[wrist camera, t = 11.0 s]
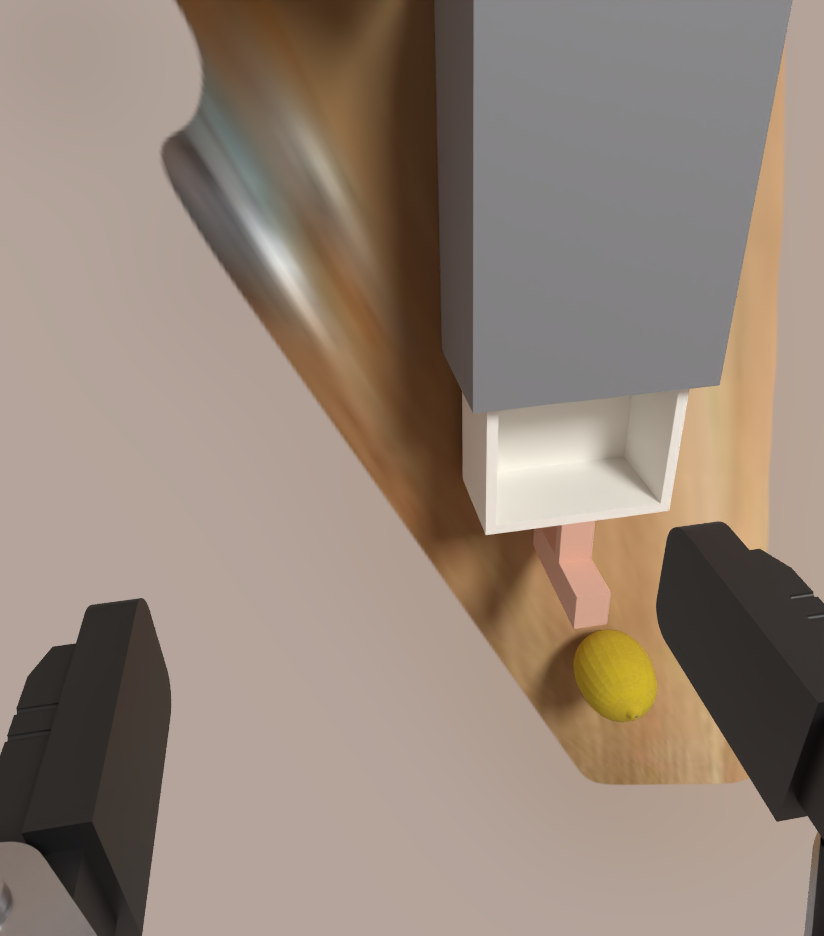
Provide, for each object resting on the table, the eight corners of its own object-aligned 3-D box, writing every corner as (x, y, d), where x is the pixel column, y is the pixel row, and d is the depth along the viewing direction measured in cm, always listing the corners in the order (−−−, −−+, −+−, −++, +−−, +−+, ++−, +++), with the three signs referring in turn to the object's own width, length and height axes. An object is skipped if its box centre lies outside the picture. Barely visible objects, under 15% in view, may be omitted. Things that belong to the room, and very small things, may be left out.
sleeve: (432, -67, 34) (473, -81, 28) (707, -78, 36) (810, -94, 29) (441, 350, 45) (472, 413, 38) (653, 328, 46) (719, 385, 40)
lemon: (563, 668, 61) (600, 752, 54) (556, 619, 58) (594, 701, 51) (630, 650, 61) (675, 731, 54) (626, 599, 58) (674, 679, 51)
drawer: (460, 168, 39) (508, 211, 31) (667, 152, 40) (762, 189, 32) (463, 544, 51) (497, 640, 44) (620, 523, 53) (680, 613, 45)
